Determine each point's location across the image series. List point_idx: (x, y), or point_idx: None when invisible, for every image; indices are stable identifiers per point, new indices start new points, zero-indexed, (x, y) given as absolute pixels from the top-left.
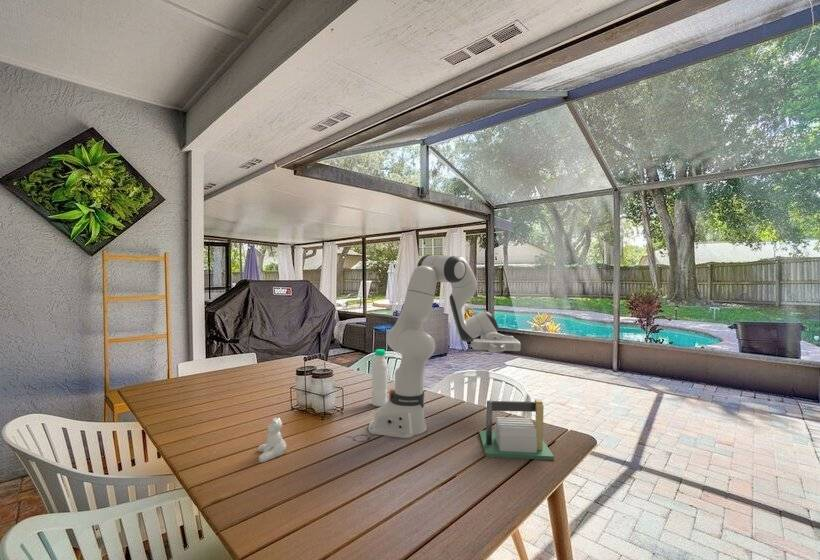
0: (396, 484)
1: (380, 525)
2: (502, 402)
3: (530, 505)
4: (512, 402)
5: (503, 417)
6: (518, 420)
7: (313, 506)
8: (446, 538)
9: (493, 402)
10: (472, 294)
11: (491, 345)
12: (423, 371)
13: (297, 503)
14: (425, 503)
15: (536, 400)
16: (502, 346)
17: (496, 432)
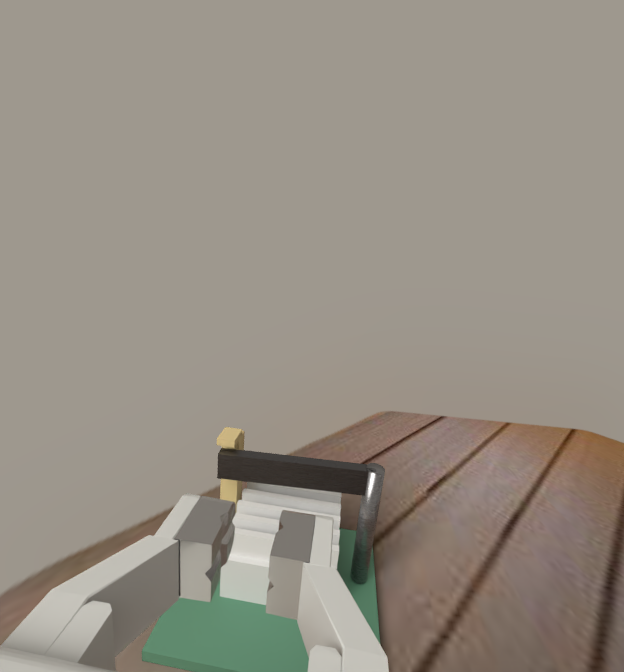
0: (514, 483)
1: (487, 436)
2: (335, 461)
3: (325, 438)
4: (303, 457)
5: None
6: (272, 521)
7: (585, 462)
8: (418, 421)
9: (363, 464)
10: None
11: (352, 608)
12: None
13: (610, 467)
14: (454, 452)
15: (235, 435)
16: (205, 499)
17: None
